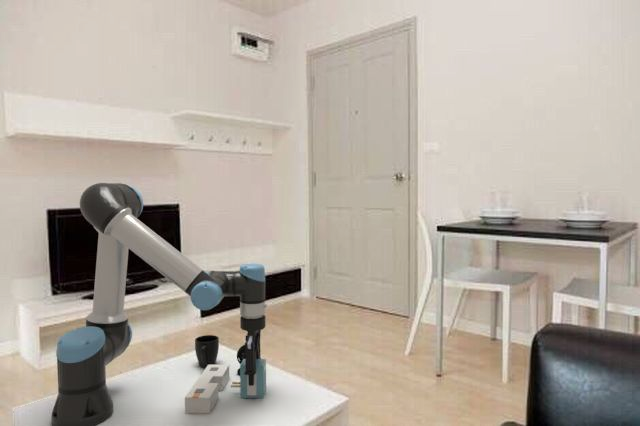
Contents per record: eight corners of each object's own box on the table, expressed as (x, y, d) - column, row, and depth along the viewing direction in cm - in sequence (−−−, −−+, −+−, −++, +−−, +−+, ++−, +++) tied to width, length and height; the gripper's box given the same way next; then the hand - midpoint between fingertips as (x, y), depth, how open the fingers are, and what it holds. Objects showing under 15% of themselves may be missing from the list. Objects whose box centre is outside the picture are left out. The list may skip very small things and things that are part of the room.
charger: (229, 397, 136) (229, 364, 135) (233, 390, 141) (233, 358, 140) (264, 397, 135) (263, 365, 135) (266, 390, 140) (266, 359, 140)
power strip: (184, 413, 126) (184, 396, 126) (214, 368, 159) (214, 355, 158) (209, 413, 126) (209, 397, 126) (234, 368, 158) (234, 355, 158)
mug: (190, 373, 154) (189, 346, 154) (198, 360, 166) (198, 335, 166) (214, 373, 154) (213, 345, 154) (221, 360, 166) (220, 334, 166)
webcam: (238, 378, 150) (238, 348, 149) (235, 370, 157) (235, 341, 157) (261, 375, 152) (261, 346, 152) (257, 367, 159) (257, 339, 159)
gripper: (260, 324, 128) (261, 404, 129) (269, 307, 146) (269, 378, 147) (234, 323, 128) (234, 404, 129) (246, 307, 146) (247, 378, 147)
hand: (253, 390), depth 138 cm, fingers closed on charger, 5 cm apart
